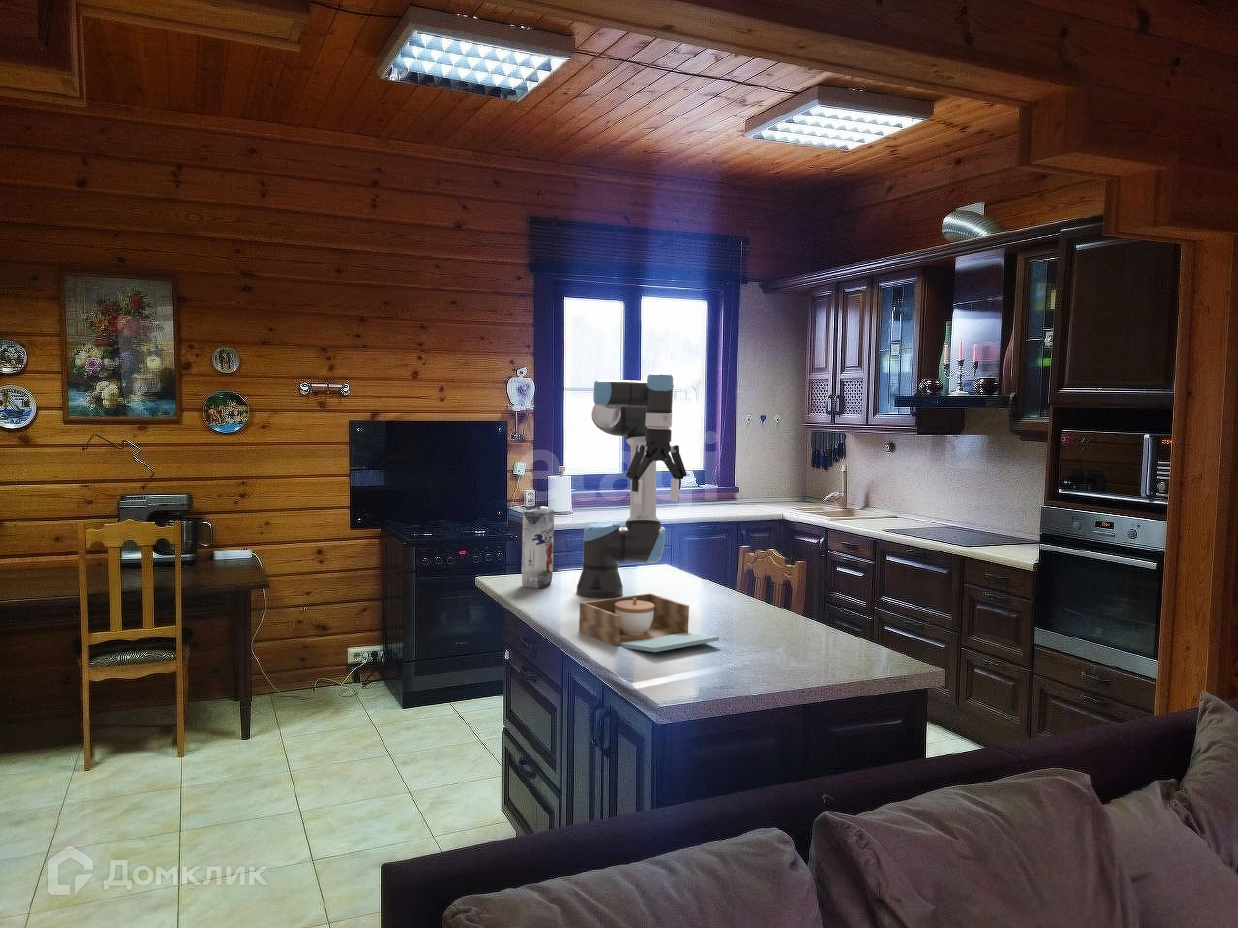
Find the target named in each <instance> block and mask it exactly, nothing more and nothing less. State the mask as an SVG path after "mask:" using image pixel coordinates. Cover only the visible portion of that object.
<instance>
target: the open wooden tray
mask: <svg viewBox="0 0 1238 928" xmlns="http://www.w3.org/2000/svg"><path fill="white" fill-rule="evenodd" d="M633 598H637V600H641V601H647V602H650V603H653V604H654V606H655V608H654V617H653V622H652V624H651V626H650V628H649V629H648V630H647V631H646V632H645V634H643V635H626V634H624V633H623V631H622V630H621V629H620V615H617V614H615V603H616V602H619V601H624V600H633ZM689 615H690V605H688V604H685V603H682V602H679V601H676V600H672V599H669V598H665V597H662V596H659V595H656V594H653V593H643V594H636V595H628V596H618V597H611V598H606V599H605V598H604V599H598V600H597V599H596V600H590V601H589V600H588V601H583V602H582V601H581V602H579V621H578V622H579V625H578V631H579V632H580V633H582V634H584V635H587V636H590V637H591V638H594V639H597V640H600V641H601V642H604V643H606V644H608V645H610V646H611V645H612V646H614V647H620V645H619V644H620V643H625V642H631V641H637V640H643V639H649V638H655V637H661V636H667V635H673V634H679V633H689V621H690V620H689V619H690V617H689Z"/></svg>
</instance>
